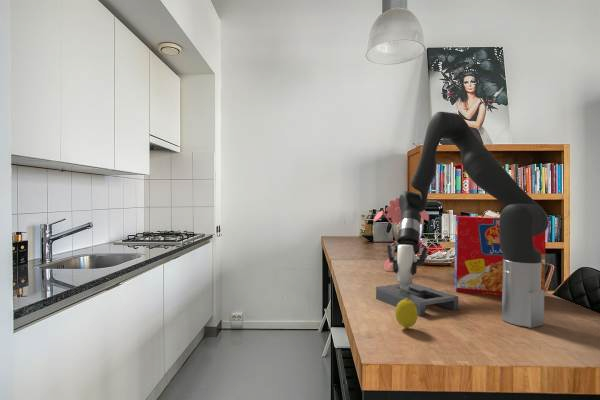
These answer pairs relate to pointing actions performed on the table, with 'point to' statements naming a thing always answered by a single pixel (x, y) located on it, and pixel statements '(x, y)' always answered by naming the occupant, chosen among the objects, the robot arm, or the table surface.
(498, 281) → the pasta box
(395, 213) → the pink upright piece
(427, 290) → the keyhole plate
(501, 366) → the table surface
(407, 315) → the lemon
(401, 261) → the footed peg
